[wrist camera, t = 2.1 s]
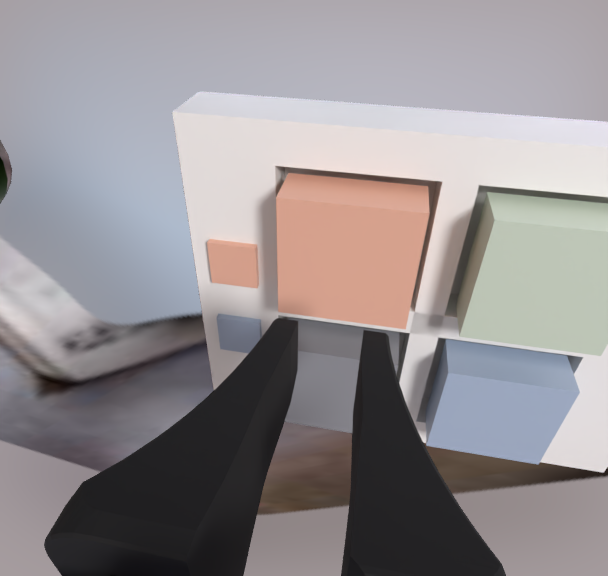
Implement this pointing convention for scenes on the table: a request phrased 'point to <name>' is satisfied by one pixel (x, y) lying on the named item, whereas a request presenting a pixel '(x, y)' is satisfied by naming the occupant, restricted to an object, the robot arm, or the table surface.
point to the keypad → (383, 168)
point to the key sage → (538, 274)
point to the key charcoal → (329, 373)
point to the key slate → (498, 400)
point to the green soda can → (4, 172)
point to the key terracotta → (349, 248)
